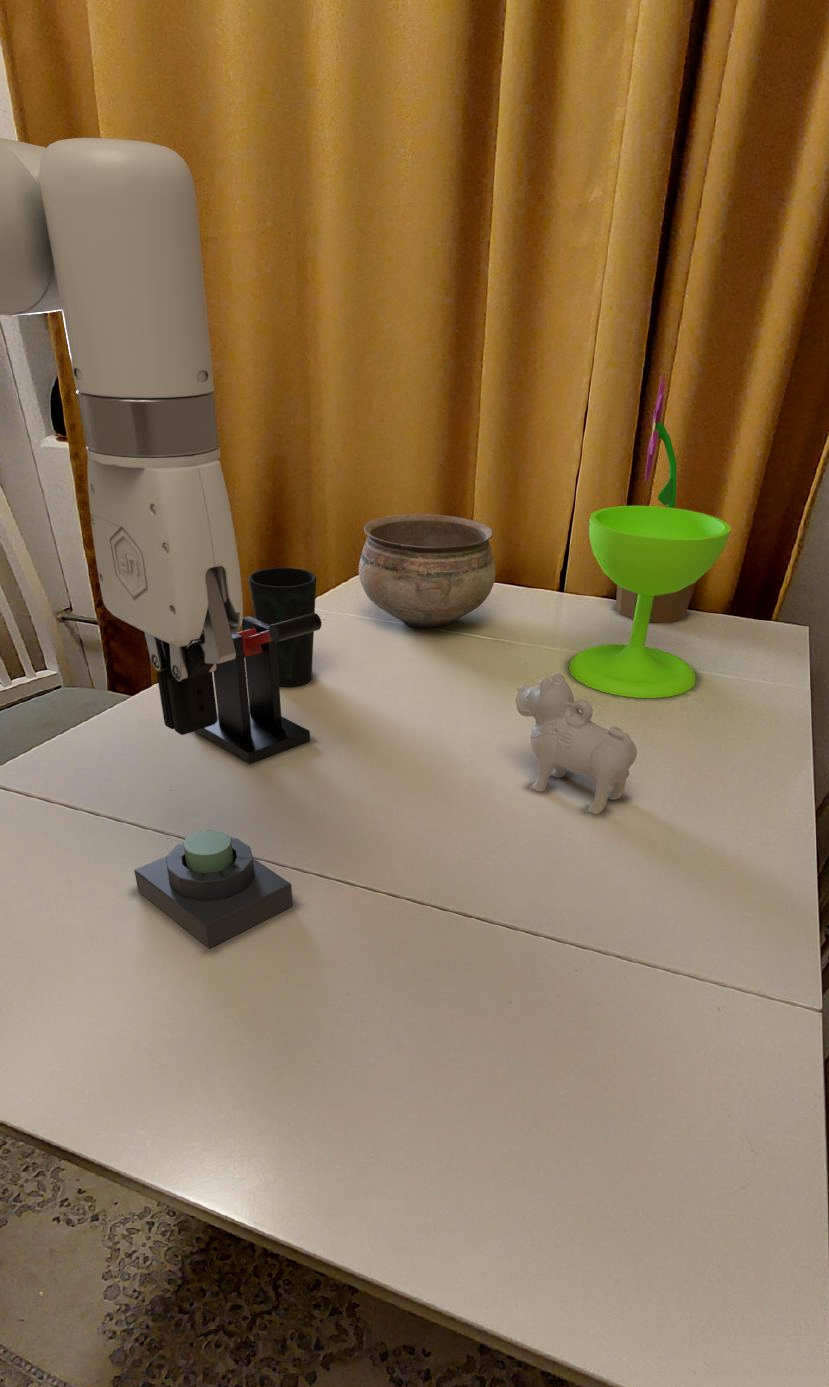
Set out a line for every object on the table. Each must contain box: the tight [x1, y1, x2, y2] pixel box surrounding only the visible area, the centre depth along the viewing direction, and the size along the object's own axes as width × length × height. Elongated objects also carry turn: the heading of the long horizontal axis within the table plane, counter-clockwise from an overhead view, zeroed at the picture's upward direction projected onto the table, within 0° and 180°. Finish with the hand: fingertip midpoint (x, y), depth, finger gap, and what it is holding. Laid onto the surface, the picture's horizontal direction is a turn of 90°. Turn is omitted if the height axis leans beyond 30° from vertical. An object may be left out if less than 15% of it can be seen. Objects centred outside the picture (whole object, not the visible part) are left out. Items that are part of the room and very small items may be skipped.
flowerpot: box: [615, 374, 698, 623], centre depth 122 cm, size 14×14×30 cm
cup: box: [248, 567, 317, 688], centre depth 103 cm, size 8×8×12 cm
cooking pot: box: [358, 513, 497, 629], centre depth 122 cm, size 25×19×12 cm
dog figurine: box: [515, 672, 638, 815], centre depth 84 cm, size 5×13×11 cm, turn 51°
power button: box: [183, 829, 233, 873], centre depth 68 cm, size 4×4×2 cm
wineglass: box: [568, 505, 732, 699], centre depth 106 cm, size 16×16×18 cm
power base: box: [133, 836, 294, 949], centre depth 69 cm, size 10×8×4 cm
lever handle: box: [235, 612, 322, 658], centre depth 85 cm, size 12×5×2 cm, turn 45°
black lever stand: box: [194, 616, 311, 764], centre depth 90 cm, size 10×8×12 cm
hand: (191, 724), depth 61 cm, fingers closed
